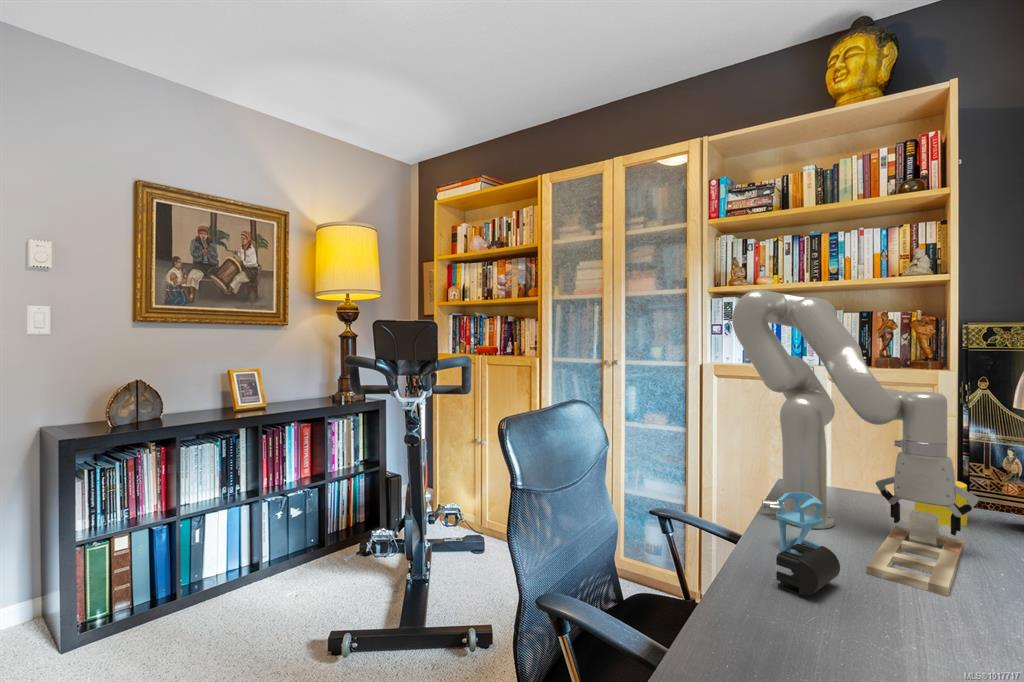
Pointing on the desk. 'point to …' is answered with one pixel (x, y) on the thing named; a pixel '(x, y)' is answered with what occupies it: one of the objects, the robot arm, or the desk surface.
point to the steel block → (924, 528)
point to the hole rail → (917, 561)
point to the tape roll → (944, 508)
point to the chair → (798, 519)
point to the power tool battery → (806, 569)
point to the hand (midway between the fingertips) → (924, 527)
